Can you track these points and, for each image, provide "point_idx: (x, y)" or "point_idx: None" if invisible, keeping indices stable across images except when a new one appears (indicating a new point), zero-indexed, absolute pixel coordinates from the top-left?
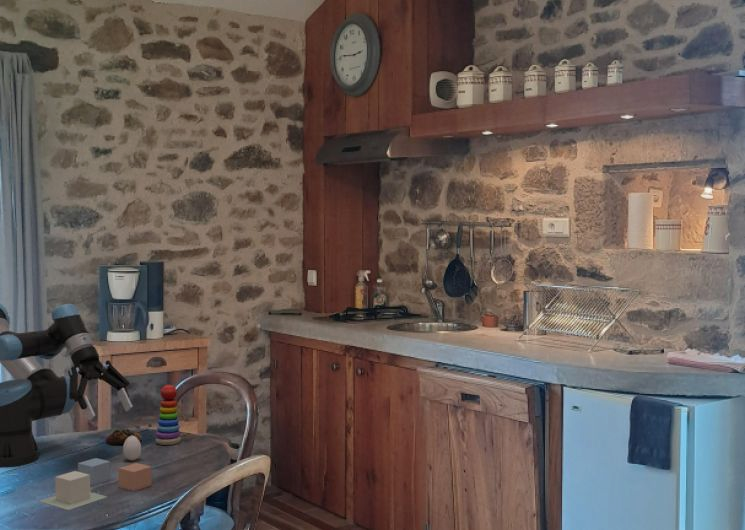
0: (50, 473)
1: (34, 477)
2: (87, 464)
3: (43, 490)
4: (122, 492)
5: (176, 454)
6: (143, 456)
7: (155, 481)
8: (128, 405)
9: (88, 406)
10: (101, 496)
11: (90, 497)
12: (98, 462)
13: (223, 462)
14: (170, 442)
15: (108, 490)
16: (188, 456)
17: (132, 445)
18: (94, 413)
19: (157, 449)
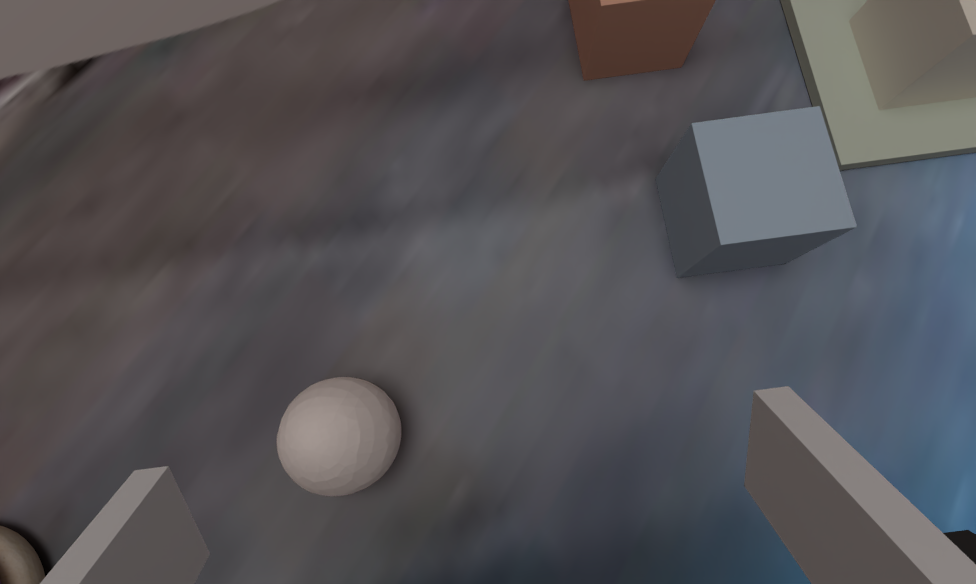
0: None
1: None
2: (821, 162)
3: (958, 304)
4: None
5: (146, 342)
6: (276, 450)
7: (503, 56)
8: (156, 518)
9: (904, 510)
10: (804, 5)
11: (850, 19)
12: (753, 152)
13: (126, 69)
14: (8, 533)
15: (717, 92)
16: (140, 264)
17: (360, 389)
18: (770, 409)
19: None
